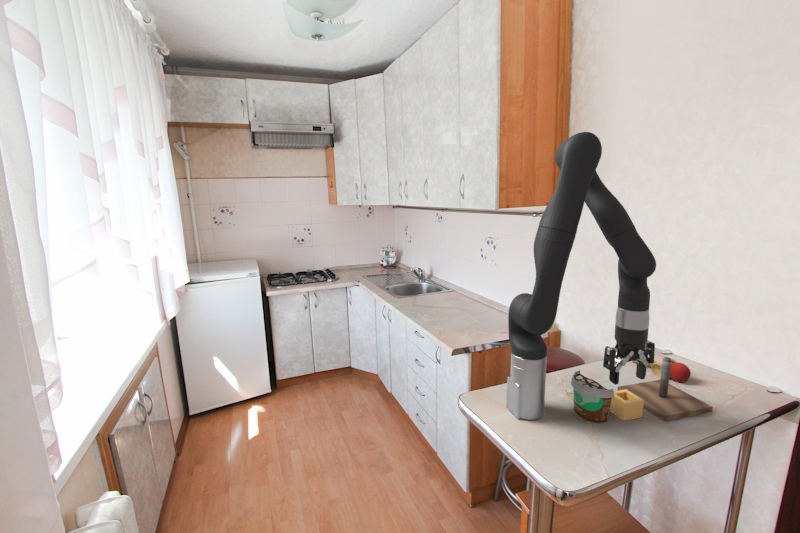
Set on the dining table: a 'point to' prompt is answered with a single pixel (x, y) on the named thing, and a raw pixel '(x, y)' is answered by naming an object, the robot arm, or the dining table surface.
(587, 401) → the food container
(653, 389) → the needle stand
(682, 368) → the kendama
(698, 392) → the dining table surface
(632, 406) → the tan hollow square block
